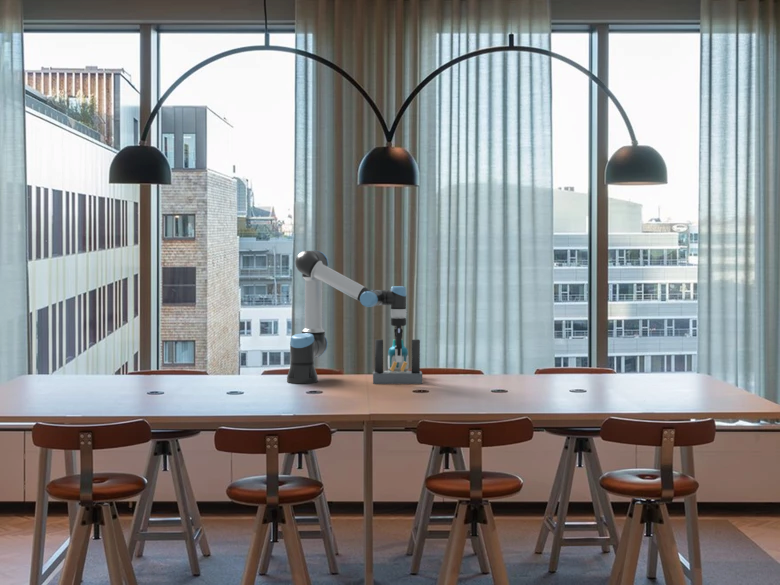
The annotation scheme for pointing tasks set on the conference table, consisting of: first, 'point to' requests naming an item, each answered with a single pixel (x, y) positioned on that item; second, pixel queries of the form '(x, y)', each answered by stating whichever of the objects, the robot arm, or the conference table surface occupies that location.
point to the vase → (392, 358)
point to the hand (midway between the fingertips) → (398, 360)
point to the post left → (379, 356)
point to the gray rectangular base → (397, 377)
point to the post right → (415, 356)
